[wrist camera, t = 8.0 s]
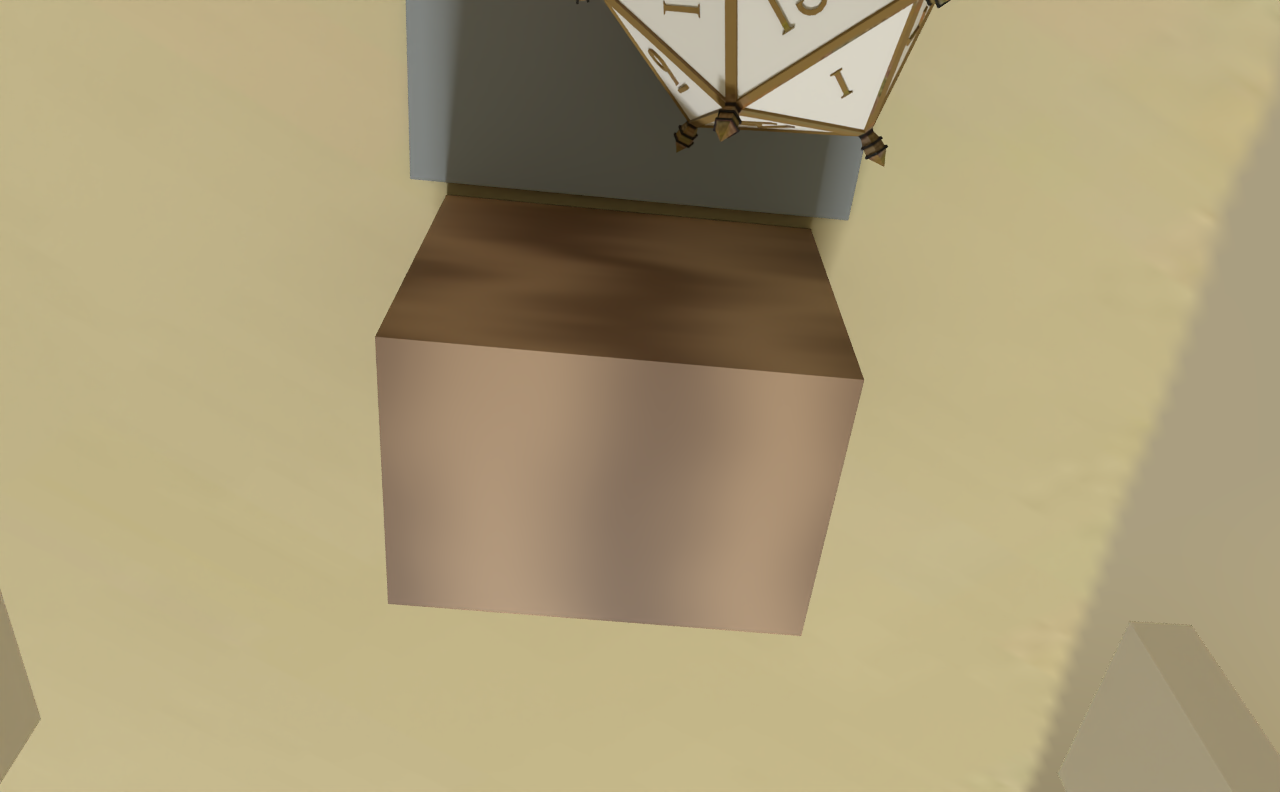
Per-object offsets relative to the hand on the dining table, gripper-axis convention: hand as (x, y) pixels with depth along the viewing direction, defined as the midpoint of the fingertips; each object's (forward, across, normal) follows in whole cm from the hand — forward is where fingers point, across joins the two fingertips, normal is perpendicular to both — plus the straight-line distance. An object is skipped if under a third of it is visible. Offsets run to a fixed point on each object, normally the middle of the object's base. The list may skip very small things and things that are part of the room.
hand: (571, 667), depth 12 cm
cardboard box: (+20, +1, -6) cm, 21 cm away
